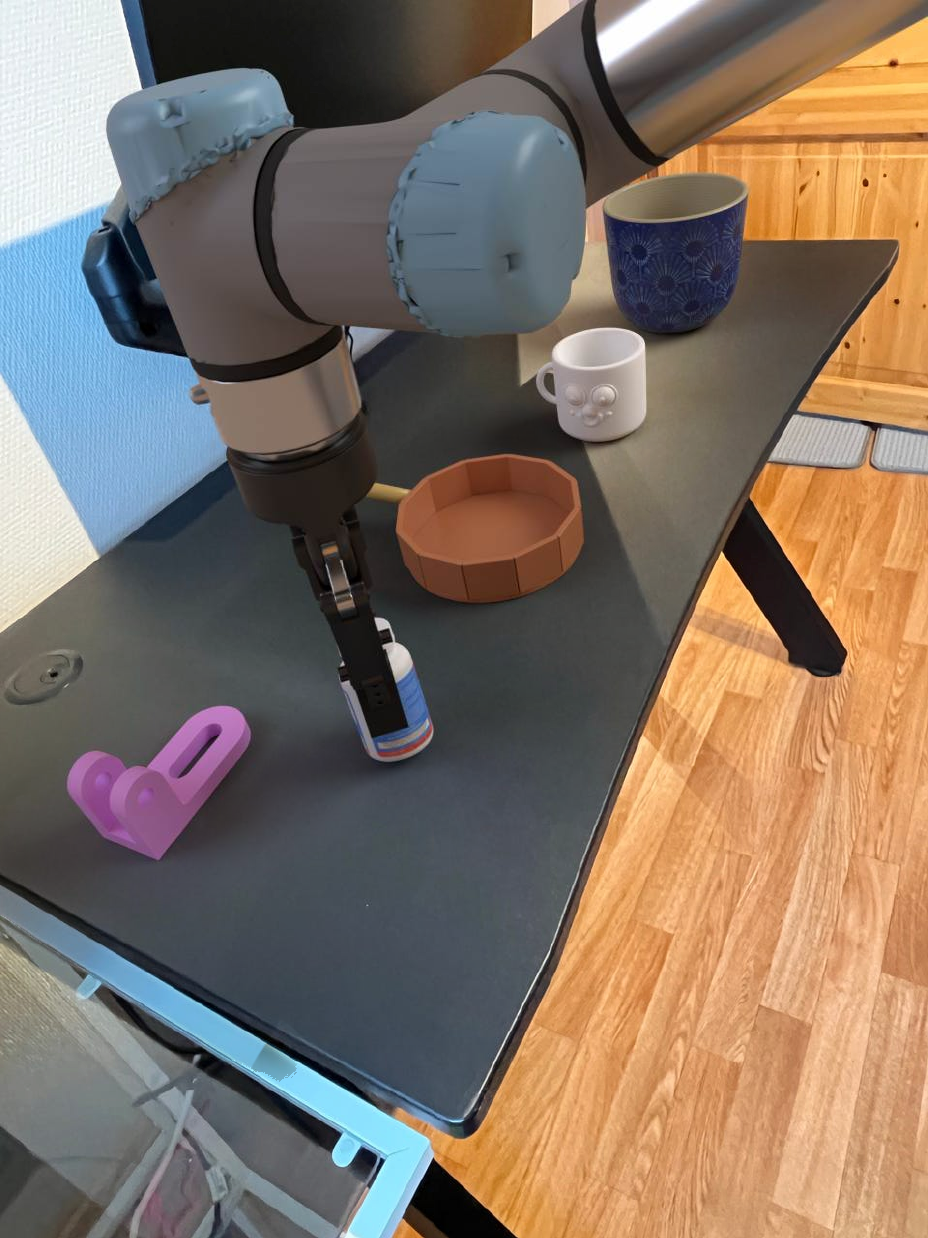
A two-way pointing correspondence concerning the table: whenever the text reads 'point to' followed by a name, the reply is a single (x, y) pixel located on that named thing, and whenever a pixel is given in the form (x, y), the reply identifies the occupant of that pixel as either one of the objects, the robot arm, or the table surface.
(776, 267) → the table surface
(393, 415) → the table surface
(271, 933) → the table surface
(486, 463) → the pan
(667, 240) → the planter
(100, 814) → the bracket
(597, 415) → the mug
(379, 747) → the pill bottle
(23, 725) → the table surface
